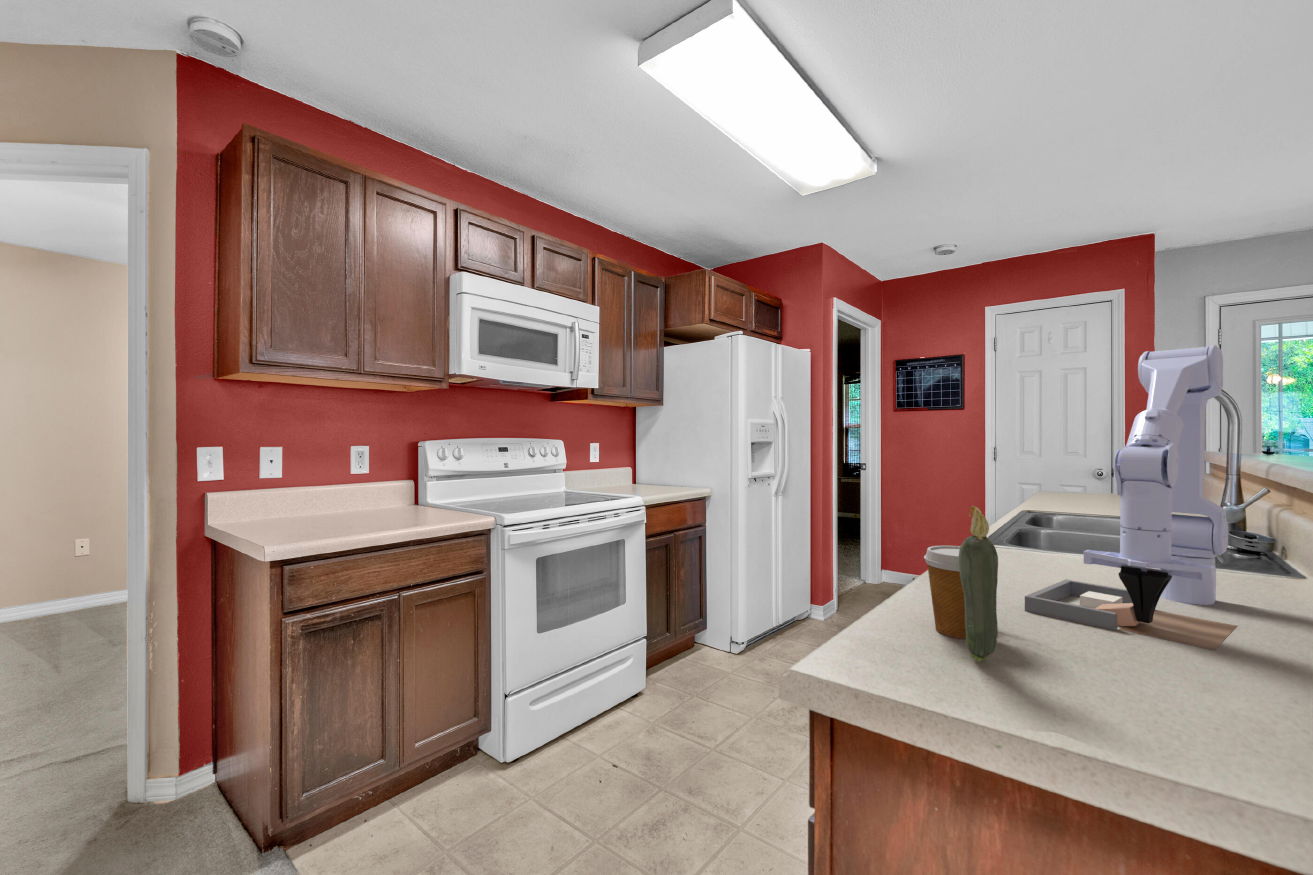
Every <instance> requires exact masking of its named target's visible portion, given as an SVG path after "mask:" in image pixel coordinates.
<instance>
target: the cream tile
mask: <svg viewBox="0 0 1313 875" xmlns="http://www.w3.org/2000/svg"><path fill="white" fill-rule="evenodd" d="M1120 603H1122V597H1119V596H1113V595H1108V594H1102V593H1097V592H1091V591H1088V592H1086V593H1084V594H1082V595H1080V596H1079V606H1084V607H1089V608H1094V609H1095V608H1097V607H1098V606H1100V605H1102V604H1120Z"/></svg>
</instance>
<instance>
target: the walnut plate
mask: <svg viewBox="0 0 1313 875" xmlns="http://www.w3.org/2000/svg"><path fill="white" fill-rule="evenodd" d="M1237 627H1238V625H1235V624H1229V623H1226V622H1225V623H1224V622H1221V621H1220V622H1219V621H1216V620H1215V621H1213V620H1208V619H1203V618H1198V617H1193V616H1186V615H1181V614H1178V613H1177V614H1176V613H1172V612H1166V611H1160V610H1156V609H1155V611H1154V615H1153V621H1152V622H1151V623H1143V622H1140V623H1139V624H1137V625H1136V626H1121V627H1120V628H1119V629H1118V630H1119V631H1124V632H1128V633H1132V634H1138V635H1142V636H1146V637H1151V638H1154V639H1155V638H1156V639H1160V640H1164V641H1169V642H1174V643H1178V644H1184V645H1188V646H1192V647H1197V648H1202V649H1206V650H1209V651H1210V650H1212V651H1215V650H1216V649H1217V648H1218V647H1219V646H1220V645H1221V644H1222V643H1223V642H1224V641H1225V640H1226V639H1227V637H1229V636H1230V634H1231V633H1232V632H1233V631H1234V630H1235V629H1236V628H1237Z"/></svg>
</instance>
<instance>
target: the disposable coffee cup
mask: <svg viewBox="0 0 1313 875" xmlns="http://www.w3.org/2000/svg"><path fill="white" fill-rule="evenodd" d="M960 546H961V545H960ZM960 546H959V545H931V546H929V547H927V550H926V554H924V556H923V559H924V560H925V563H926V564H927V572H928V579H929V581H928V582H929V586H930V595H931V603H932V611H933V619H934V625H935V626H934V627H935V630H936V631H937V632H938V633H939V634H942V635H945V636H947V637H951V638H955V639H963V640H966V628H965V602H964V592H963V587H962V583H961V579H960V571H959V550H960Z"/></svg>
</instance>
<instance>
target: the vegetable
mask: <svg viewBox="0 0 1313 875" xmlns="http://www.w3.org/2000/svg"><path fill="white" fill-rule="evenodd" d="M969 509H970V511H969V515H968V517H969V518H970V517H972V518H971V525H970V534H972V535H970V536H967V537H966V538H965V539H964V540H963V541H962V543H961V545H960V550H959V571H960V579H961V583H962V587H963V592H964V602H965V628H966V639H965V641H966V642H965V643H966V645H967V649H968V650H969V652H970V653H969V654H970V657H971V658H972V659H974V660H975V661H976V662H977V663H978V662H980V661H982V660H983V661H986V660H988V658H989V657H990V656H991V655H992V654H993V653H994V652H995V650H996V647H997V643H998V642H997V640H998V633H999V632H998V617H997V616H998V615H997V593H998V592H997V589H998V581H999V579H998V577H999V575H998V572H999V571H998V570H999V556H998V551H997V549H996V546H995V545H994V543H993V542H992V541H991V540H990V539H989V538H988V537H987V535H988V534H989V532H990V526H989V522H988V520H987V518H986V517H985V515H984V514H983V513H982V511H981V510H980V508H979V507H976V506H975V505H971V506H970V507H969Z"/></svg>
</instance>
